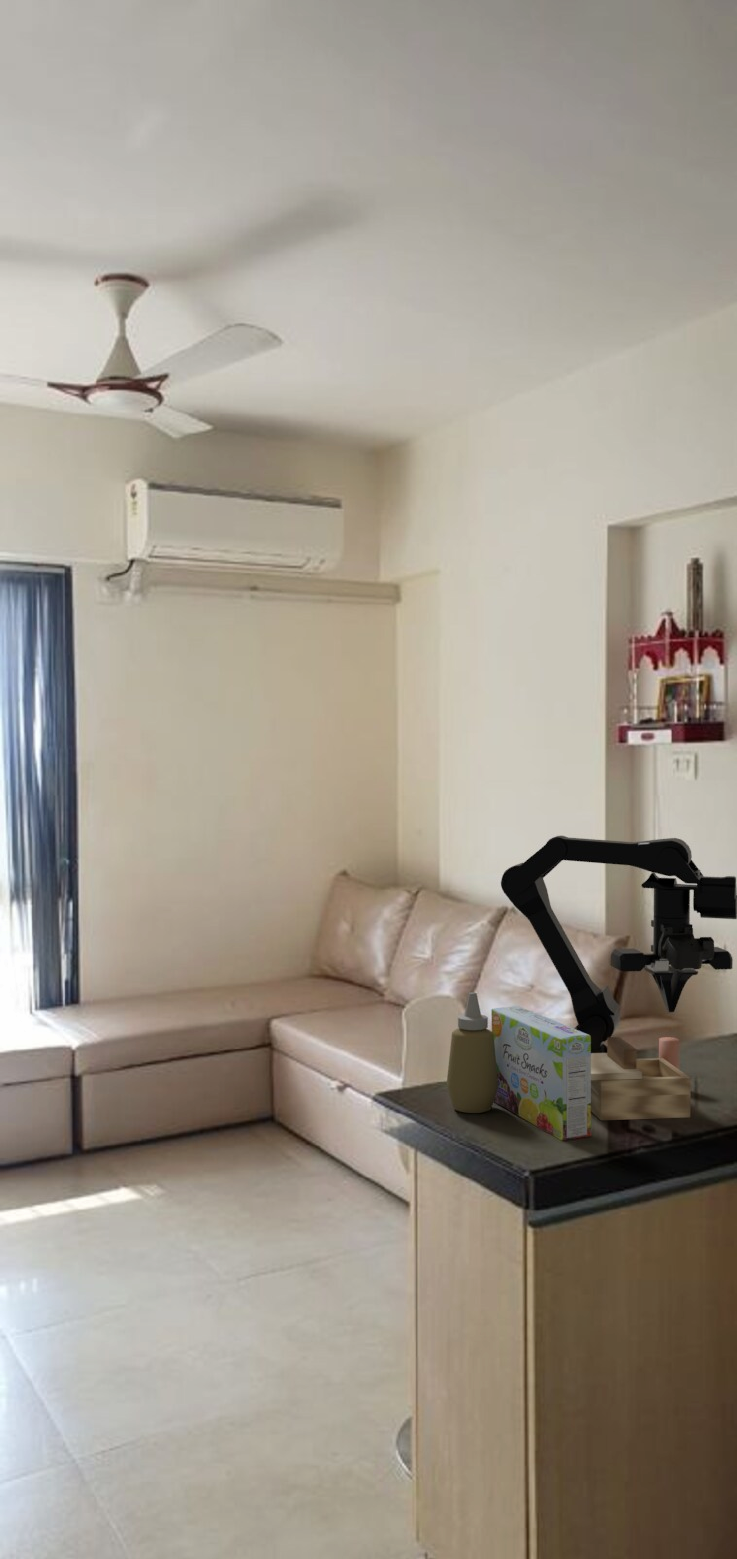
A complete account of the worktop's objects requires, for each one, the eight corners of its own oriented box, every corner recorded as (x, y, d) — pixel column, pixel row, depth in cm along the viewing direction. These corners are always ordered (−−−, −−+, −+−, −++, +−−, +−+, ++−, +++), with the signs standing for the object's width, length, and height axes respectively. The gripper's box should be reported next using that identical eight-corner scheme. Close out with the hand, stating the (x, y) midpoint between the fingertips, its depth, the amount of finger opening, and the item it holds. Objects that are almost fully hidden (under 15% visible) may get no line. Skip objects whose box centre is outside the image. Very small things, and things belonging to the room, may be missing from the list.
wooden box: (662, 1094, 203) (662, 1057, 203) (690, 1117, 191) (690, 1077, 191) (577, 1097, 201) (578, 1060, 201) (600, 1120, 189) (601, 1080, 189)
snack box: (488, 1102, 199) (489, 1007, 198) (519, 1098, 201) (520, 1004, 200) (560, 1142, 179) (561, 1036, 179) (593, 1137, 181) (594, 1033, 181)
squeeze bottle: (452, 1117, 190) (453, 999, 190) (441, 1102, 198) (441, 988, 198) (504, 1115, 192) (505, 997, 191) (491, 1100, 200) (491, 987, 199)
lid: (616, 1058, 202) (616, 1033, 202) (642, 1078, 190) (642, 1052, 190) (560, 1060, 201) (560, 1035, 200) (582, 1080, 189) (582, 1054, 189)
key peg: (661, 1090, 205) (662, 1041, 205) (656, 1085, 209) (656, 1037, 208) (681, 1090, 206) (681, 1041, 205) (675, 1084, 209) (675, 1037, 208)
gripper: (632, 924, 195) (631, 1024, 195) (747, 922, 197) (746, 1021, 198) (609, 914, 206) (609, 1009, 207) (719, 912, 208) (718, 1006, 209)
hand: (670, 1011), depth 205 cm, fingers closed
